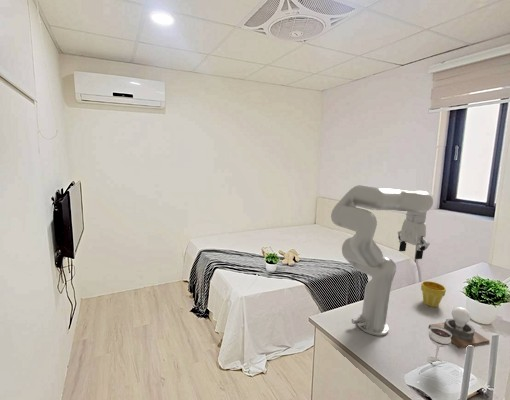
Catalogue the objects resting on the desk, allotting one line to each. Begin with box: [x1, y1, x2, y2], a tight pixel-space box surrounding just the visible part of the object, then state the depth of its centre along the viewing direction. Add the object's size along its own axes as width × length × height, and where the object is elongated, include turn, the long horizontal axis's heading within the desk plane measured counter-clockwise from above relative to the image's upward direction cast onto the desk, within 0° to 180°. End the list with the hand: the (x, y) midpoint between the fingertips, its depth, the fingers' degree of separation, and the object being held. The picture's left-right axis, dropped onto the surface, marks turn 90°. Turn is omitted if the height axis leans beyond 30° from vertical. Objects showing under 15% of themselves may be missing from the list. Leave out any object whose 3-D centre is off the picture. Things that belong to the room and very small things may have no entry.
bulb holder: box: [428, 318, 491, 349], centre depth 122 cm, size 16×14×4 cm
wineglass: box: [426, 326, 452, 364], centre depth 104 cm, size 7×7×12 cm
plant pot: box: [420, 280, 447, 308], centre depth 146 cm, size 10×10×10 cm
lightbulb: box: [451, 306, 471, 331], centre depth 121 cm, size 6×6×11 cm
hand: (410, 254), depth 133 cm, fingers open, 9 cm apart
